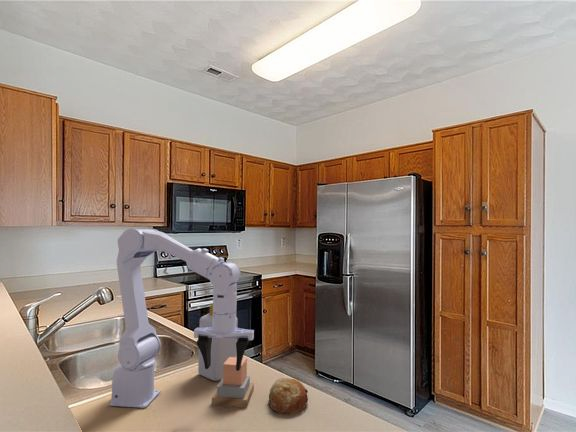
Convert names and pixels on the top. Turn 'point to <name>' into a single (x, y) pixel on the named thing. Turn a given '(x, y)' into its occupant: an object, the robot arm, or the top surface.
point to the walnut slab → (233, 399)
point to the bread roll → (287, 396)
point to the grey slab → (233, 389)
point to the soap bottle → (216, 351)
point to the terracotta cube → (234, 371)
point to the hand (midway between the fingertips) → (223, 368)
